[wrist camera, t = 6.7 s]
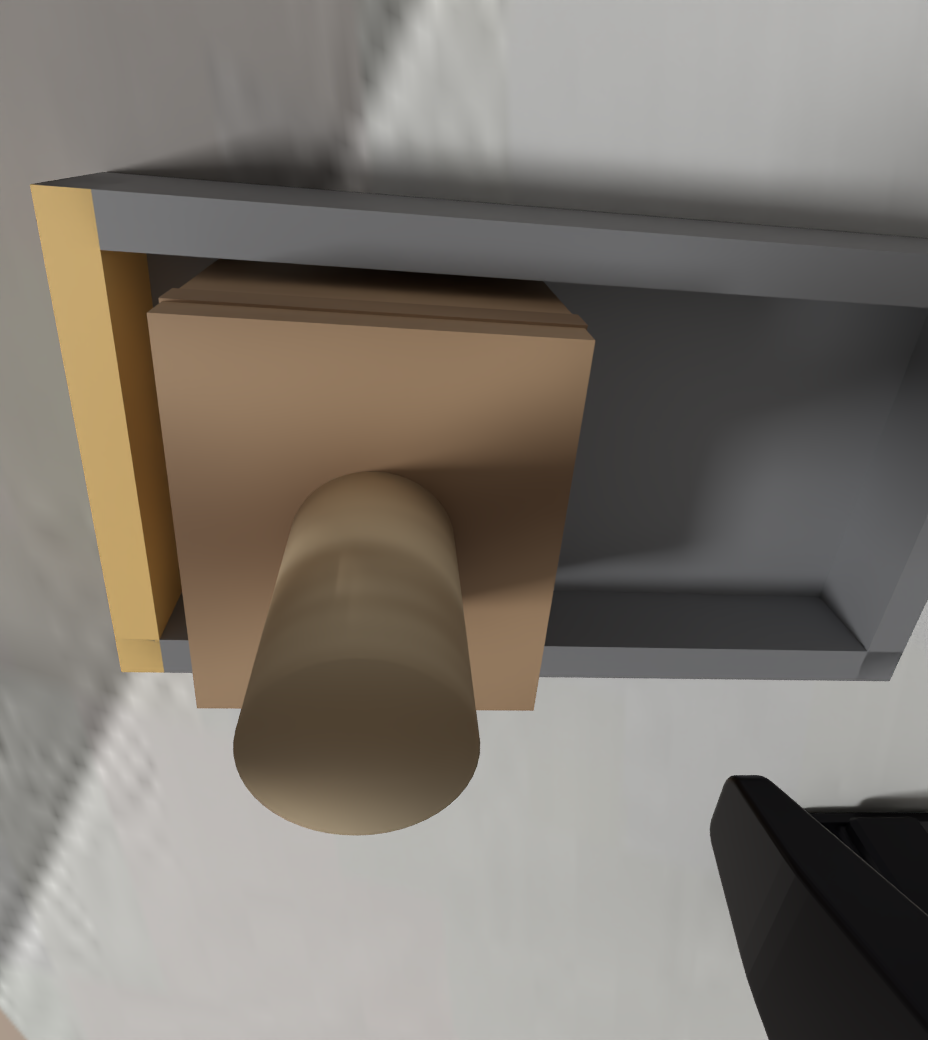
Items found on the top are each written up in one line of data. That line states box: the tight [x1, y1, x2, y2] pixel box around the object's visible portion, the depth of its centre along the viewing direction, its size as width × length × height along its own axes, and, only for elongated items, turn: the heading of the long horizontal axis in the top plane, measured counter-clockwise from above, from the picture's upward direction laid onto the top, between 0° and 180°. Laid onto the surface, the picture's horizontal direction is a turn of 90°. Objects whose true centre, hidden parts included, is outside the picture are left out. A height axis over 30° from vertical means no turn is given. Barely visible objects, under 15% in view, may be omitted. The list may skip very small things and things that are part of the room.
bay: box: [30, 172, 928, 681], centre depth 18 cm, size 11×20×4 cm, turn 85°
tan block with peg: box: [147, 258, 595, 835], centre depth 13 cm, size 8×7×10 cm
